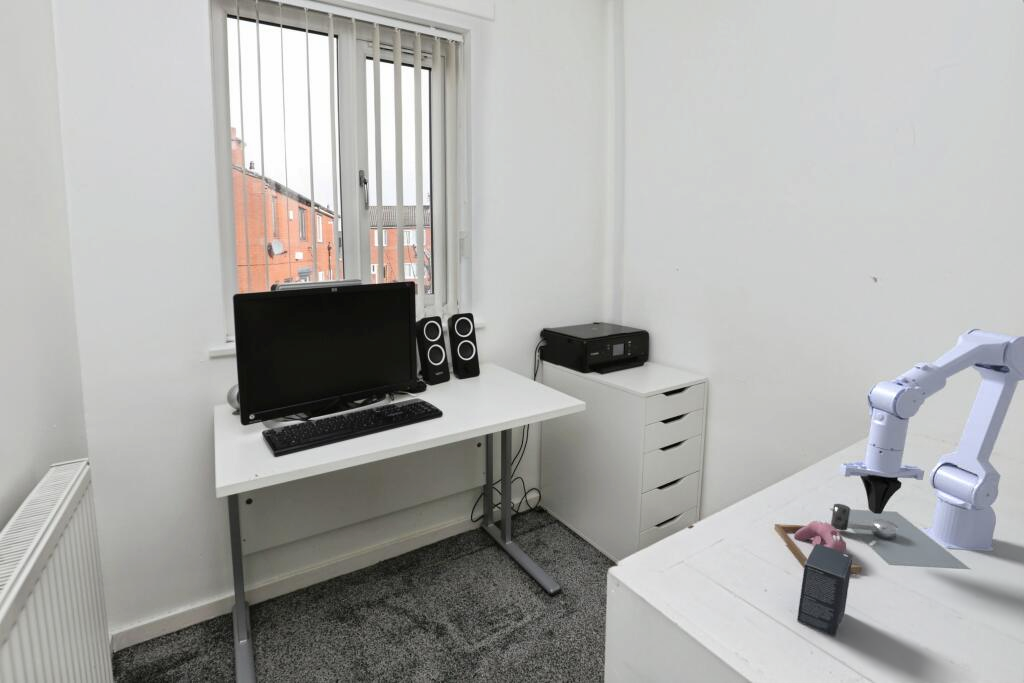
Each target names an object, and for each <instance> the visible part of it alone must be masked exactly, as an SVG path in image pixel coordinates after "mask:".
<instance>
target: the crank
mask: <svg viewBox="0 0 1024 683" xmlns="http://www.w3.org/2000/svg"><path fill="white" fill-rule="evenodd" d="M832 509H833V512H832V515H831V516H832V517H831V521H830V525H832V526H833V527H835V528H836V529H837V530H838V531H846V530H848V529H851V530H852V529H863V530H871V532H872V533H873V534H874V535H876V536H878V537H880V538H884V539H889V540H893V539H896V536H897V530H898V526H897V525H896V524H894V523H892V522H890V521H887V520H883V519H874V520H873V522H869V521H856V520H849V515H850V509H851V508H850V507H849V506H848V505H846V504H843V503H835V504H833V507H832Z"/></svg>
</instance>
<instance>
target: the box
mask: <svg viewBox="0 0 1024 683" xmlns="http://www.w3.org/2000/svg"><path fill="white" fill-rule="evenodd" d="M852 565H853V555H852V554H850V553H847V552H845V553H844V552H841V551H838V550H835V549H832V548H829V547H826V546H823V545H819V544H815V546H813V549H812V550H811V552H810V553H809V555H808V558H807V561H806V562H805V565H804V568H803V575H802V581H801V589H800V597H799V604H798V612H797V619H796V621H797V622H799V623H801V624H804V625H805V626H808V627H810V628H812V629H815V630H817V631H820V632H822V633H824V634H826V635H829V636H832V637H835V636H836V635H837V633H838V630H839V628H840V625H841V624H842V620H843V617H844V614H845V612H846V605H847V598H848V592H849V585H850V578H851V574H850V572H851V566H852Z"/></svg>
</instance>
